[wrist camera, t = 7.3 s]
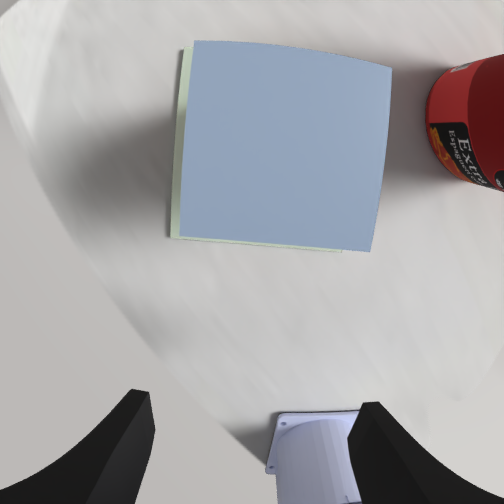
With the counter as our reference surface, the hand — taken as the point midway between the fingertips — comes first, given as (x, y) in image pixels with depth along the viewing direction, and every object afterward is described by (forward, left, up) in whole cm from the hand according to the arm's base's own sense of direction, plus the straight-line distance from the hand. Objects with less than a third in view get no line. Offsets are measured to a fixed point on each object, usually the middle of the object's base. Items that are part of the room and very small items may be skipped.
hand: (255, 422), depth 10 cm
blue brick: (+9, 0, -5) cm, 10 cm away
